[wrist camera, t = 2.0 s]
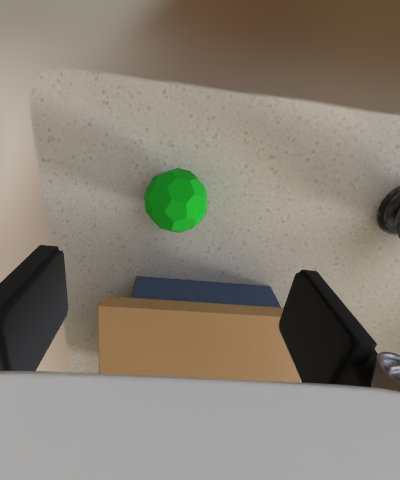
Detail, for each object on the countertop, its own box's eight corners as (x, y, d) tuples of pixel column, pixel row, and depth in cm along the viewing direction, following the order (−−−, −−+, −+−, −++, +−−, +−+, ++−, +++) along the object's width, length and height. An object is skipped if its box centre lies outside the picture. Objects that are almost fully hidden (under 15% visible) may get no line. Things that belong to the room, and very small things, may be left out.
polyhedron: (144, 165, 23) (137, 178, 18) (203, 161, 23) (209, 173, 19) (152, 221, 25) (146, 244, 21) (205, 217, 25) (211, 239, 21)
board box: (115, 372, 33) (100, 436, 26) (117, 257, 26) (97, 305, 20) (257, 376, 35) (276, 436, 29) (293, 271, 29) (327, 319, 22)
